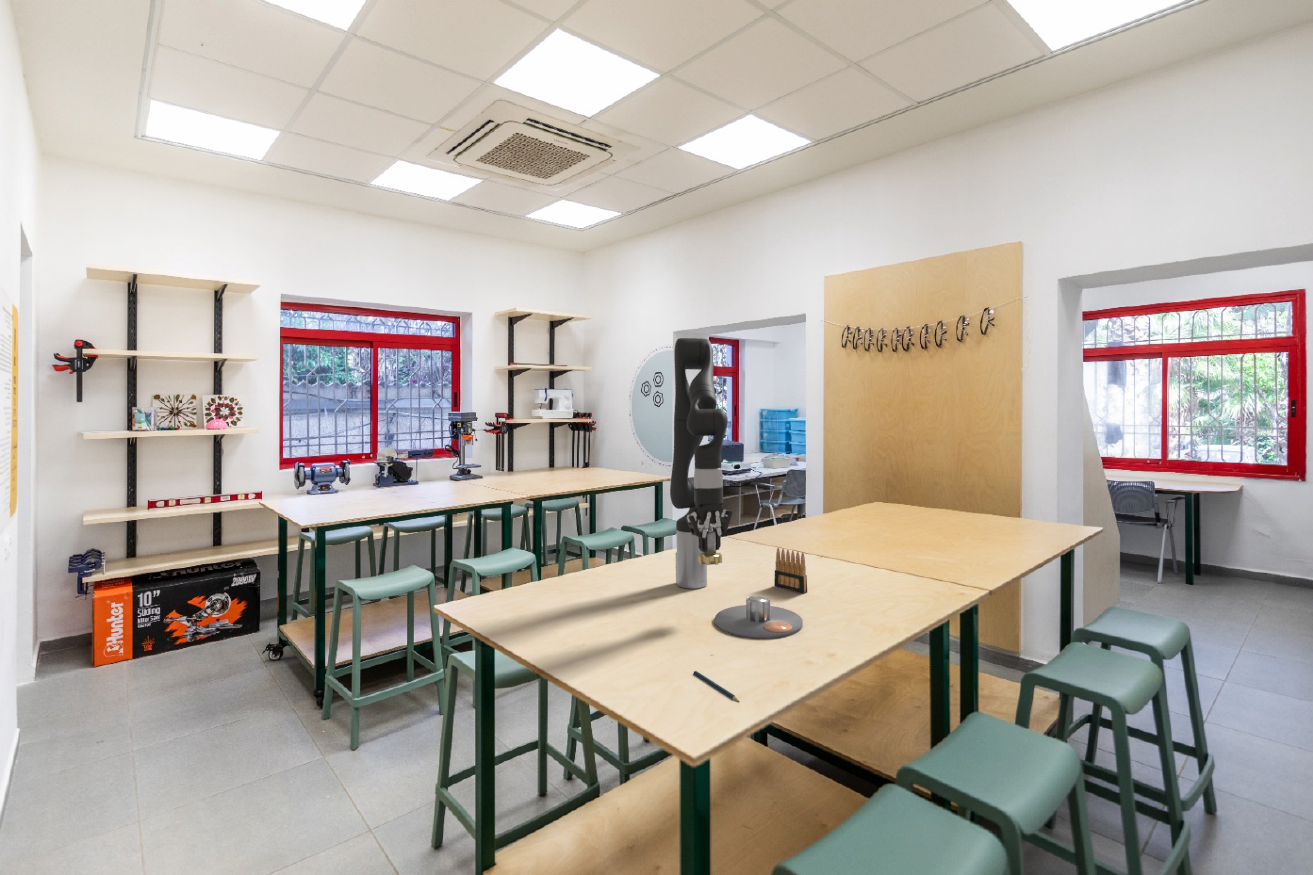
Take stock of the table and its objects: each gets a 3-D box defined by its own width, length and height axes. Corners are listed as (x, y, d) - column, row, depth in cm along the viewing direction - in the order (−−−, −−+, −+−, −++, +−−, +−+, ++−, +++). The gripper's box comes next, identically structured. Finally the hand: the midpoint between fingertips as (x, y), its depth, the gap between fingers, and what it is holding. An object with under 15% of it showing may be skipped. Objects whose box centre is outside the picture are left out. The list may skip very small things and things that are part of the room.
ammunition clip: (807, 592, 186) (807, 552, 185) (803, 593, 184) (803, 553, 184) (777, 585, 194) (777, 546, 193) (774, 586, 192) (773, 547, 192)
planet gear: (693, 561, 168) (692, 531, 167) (713, 558, 171) (712, 528, 170) (706, 566, 162) (706, 535, 162) (727, 562, 165) (726, 532, 165)
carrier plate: (698, 618, 165) (698, 595, 165) (764, 603, 176) (764, 582, 176) (751, 645, 146) (751, 620, 146) (821, 627, 157) (821, 603, 157)
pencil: (697, 674, 132) (741, 703, 119) (693, 675, 132) (737, 704, 119) (697, 670, 132) (741, 699, 119) (693, 671, 132) (737, 700, 119)
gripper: (722, 481, 172) (723, 544, 173) (677, 486, 165) (679, 551, 166) (738, 484, 166) (740, 549, 167) (693, 489, 159) (694, 557, 160)
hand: (709, 550), depth 166 cm, fingers closed on planet gear, 3 cm apart
